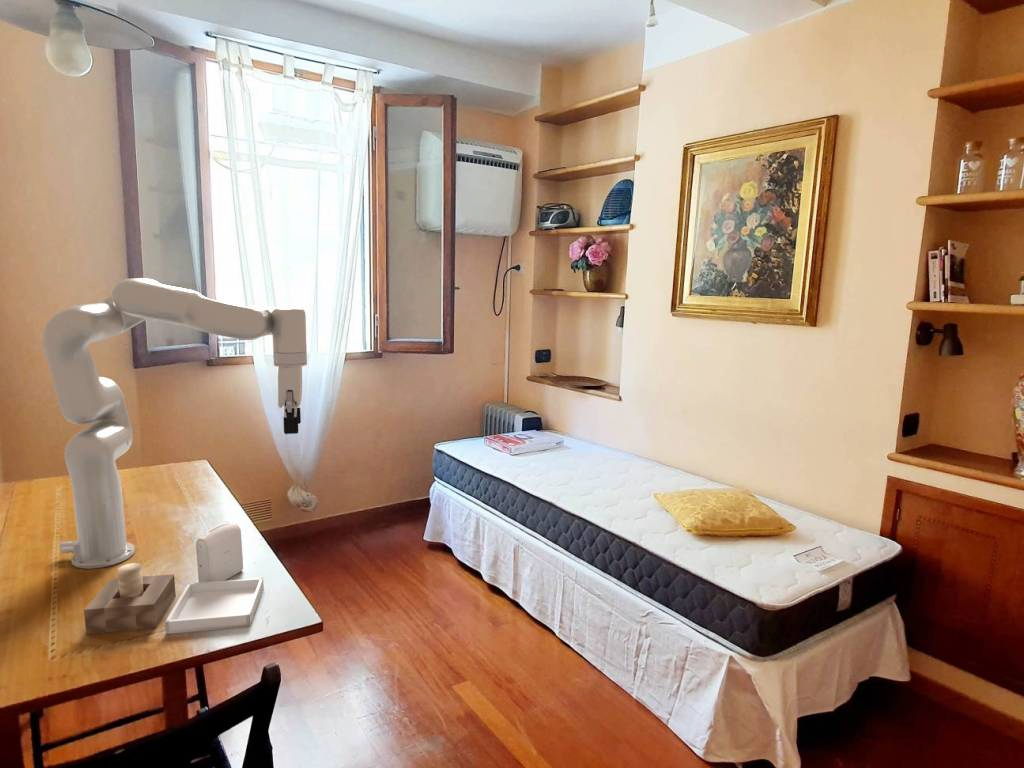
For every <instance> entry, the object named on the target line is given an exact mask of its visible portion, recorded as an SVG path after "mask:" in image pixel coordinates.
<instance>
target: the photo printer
mask: <svg viewBox="0 0 1024 768" xmlns="http://www.w3.org/2000/svg"><path fill="white" fill-rule="evenodd" d="M195 552H196V565H197V566H196V567H197V575H198V577H197V578H198V583H199V582H212V581H226V580H228V579H230V578H232V577H234V576H235V575H237V574H239V573H240V572H241V571H242V570H244V562H243V561H244V559H243V557H244V556H243V543H242V532H241V527H240V526H239V524H238V523H234V522H226V523H225V522H224V523H221V524H218V525H216V526H213V527H211V528H210V529H208V530H207V531H205V532H204V533H203V534H201V535H200V536H199V537H198V538H197V540H196V542H195Z"/></svg>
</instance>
